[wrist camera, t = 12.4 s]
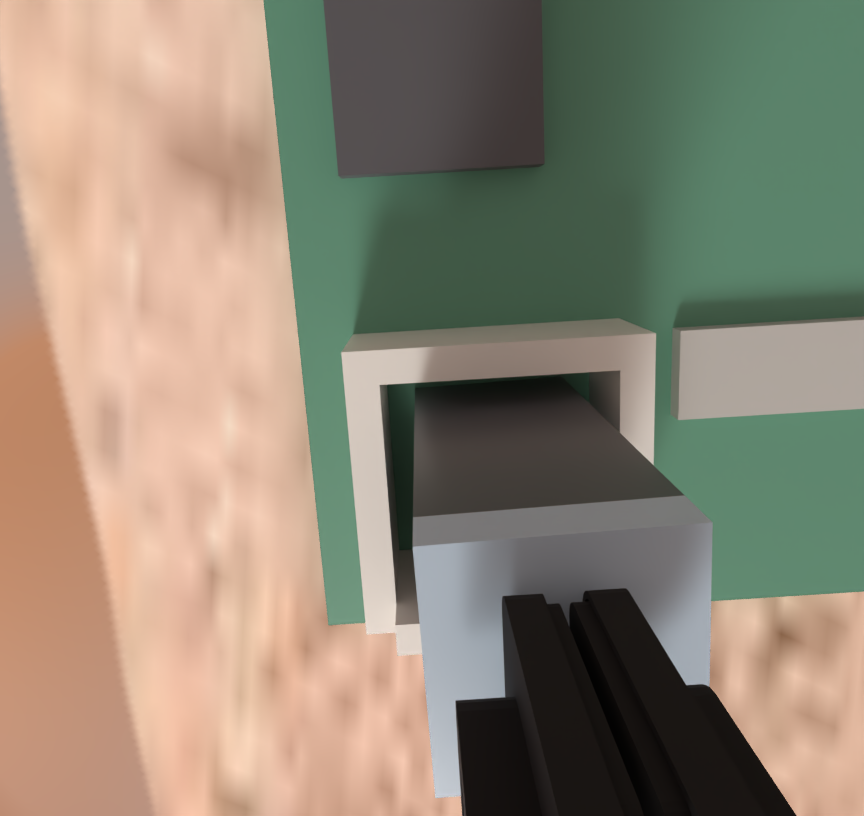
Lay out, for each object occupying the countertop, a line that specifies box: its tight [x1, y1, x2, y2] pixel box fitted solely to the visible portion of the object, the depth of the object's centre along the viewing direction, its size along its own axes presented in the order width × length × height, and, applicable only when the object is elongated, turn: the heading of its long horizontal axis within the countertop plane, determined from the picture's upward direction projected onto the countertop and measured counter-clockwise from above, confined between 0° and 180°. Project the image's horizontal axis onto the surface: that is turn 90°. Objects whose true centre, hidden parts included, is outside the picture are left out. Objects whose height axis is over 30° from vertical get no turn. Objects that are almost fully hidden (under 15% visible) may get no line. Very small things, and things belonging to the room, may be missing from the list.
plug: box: [413, 376, 713, 798], centre depth 15 cm, size 4×4×10 cm
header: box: [341, 318, 656, 656], centre depth 18 cm, size 7×7×4 cm
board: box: [264, 0, 864, 625], centre depth 18 cm, size 20×16×2 cm
